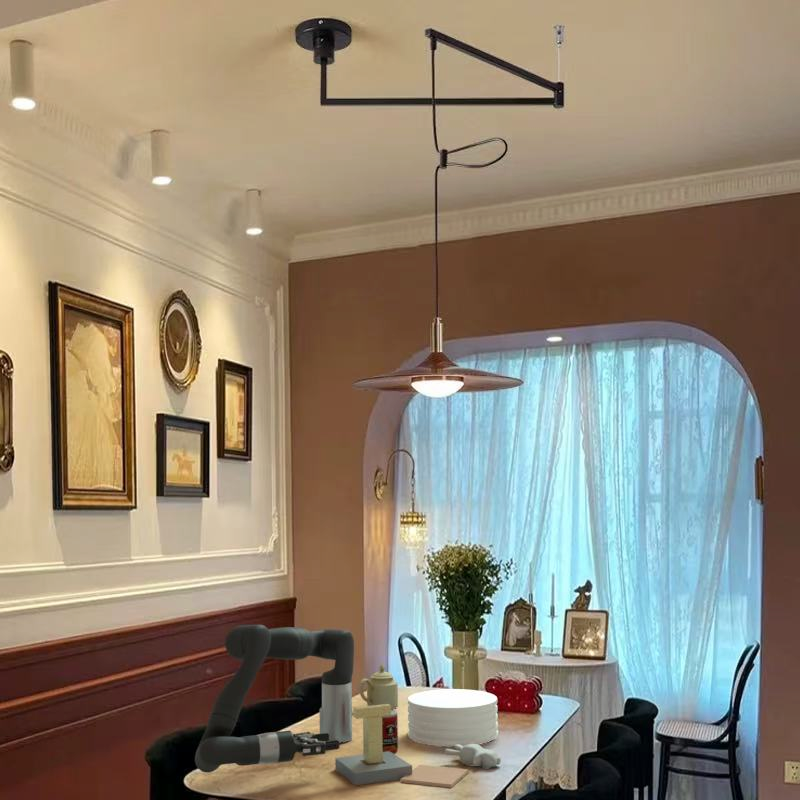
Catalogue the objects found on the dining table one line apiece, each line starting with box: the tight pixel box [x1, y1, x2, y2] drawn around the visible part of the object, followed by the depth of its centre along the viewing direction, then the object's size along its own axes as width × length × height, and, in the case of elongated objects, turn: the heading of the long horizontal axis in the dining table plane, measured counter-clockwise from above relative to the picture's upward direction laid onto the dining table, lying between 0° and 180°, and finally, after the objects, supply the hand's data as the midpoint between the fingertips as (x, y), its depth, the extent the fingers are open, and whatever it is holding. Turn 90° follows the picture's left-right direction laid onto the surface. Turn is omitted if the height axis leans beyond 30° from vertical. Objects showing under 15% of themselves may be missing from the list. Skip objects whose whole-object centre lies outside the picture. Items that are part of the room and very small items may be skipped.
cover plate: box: [334, 751, 413, 786], centre depth 249 cm, size 16×16×3 cm
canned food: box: [382, 709, 399, 754], centre depth 272 cm, size 8×8×11 cm
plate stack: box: [407, 688, 499, 747], centre depth 289 cm, size 28×28×12 cm
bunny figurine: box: [444, 744, 502, 769], centre depth 256 cm, size 10×5×15 cm
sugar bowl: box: [358, 664, 399, 710], centre depth 329 cm, size 15×11×15 cm
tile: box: [400, 764, 469, 788], centre depth 244 cm, size 14×14×1 cm
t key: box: [353, 704, 392, 766], centre depth 250 cm, size 10×4×18 cm, turn 113°
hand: (333, 740), depth 246 cm, fingers open, 8 cm apart
